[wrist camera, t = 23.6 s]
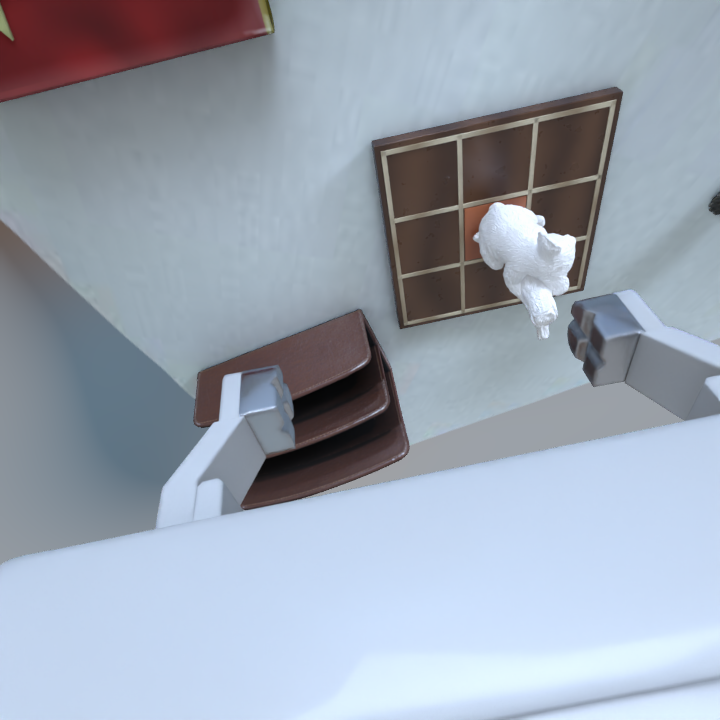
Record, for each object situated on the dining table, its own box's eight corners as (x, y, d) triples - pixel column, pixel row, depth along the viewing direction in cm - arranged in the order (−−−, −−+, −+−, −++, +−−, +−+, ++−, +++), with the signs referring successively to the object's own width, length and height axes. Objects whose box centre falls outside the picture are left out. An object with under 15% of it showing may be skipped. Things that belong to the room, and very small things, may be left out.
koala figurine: (525, 259, 49) (578, 342, 41) (458, 264, 49) (498, 349, 40) (548, 176, 43) (615, 253, 35) (472, 181, 43) (523, 260, 34)
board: (616, 86, 40) (624, 91, 39) (579, 283, 54) (584, 291, 53) (371, 140, 41) (373, 147, 40) (398, 322, 55) (400, 330, 54)
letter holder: (391, 364, 59) (415, 465, 50) (243, 418, 63) (239, 523, 53) (360, 306, 53) (382, 410, 43) (197, 370, 56) (181, 480, 46)
